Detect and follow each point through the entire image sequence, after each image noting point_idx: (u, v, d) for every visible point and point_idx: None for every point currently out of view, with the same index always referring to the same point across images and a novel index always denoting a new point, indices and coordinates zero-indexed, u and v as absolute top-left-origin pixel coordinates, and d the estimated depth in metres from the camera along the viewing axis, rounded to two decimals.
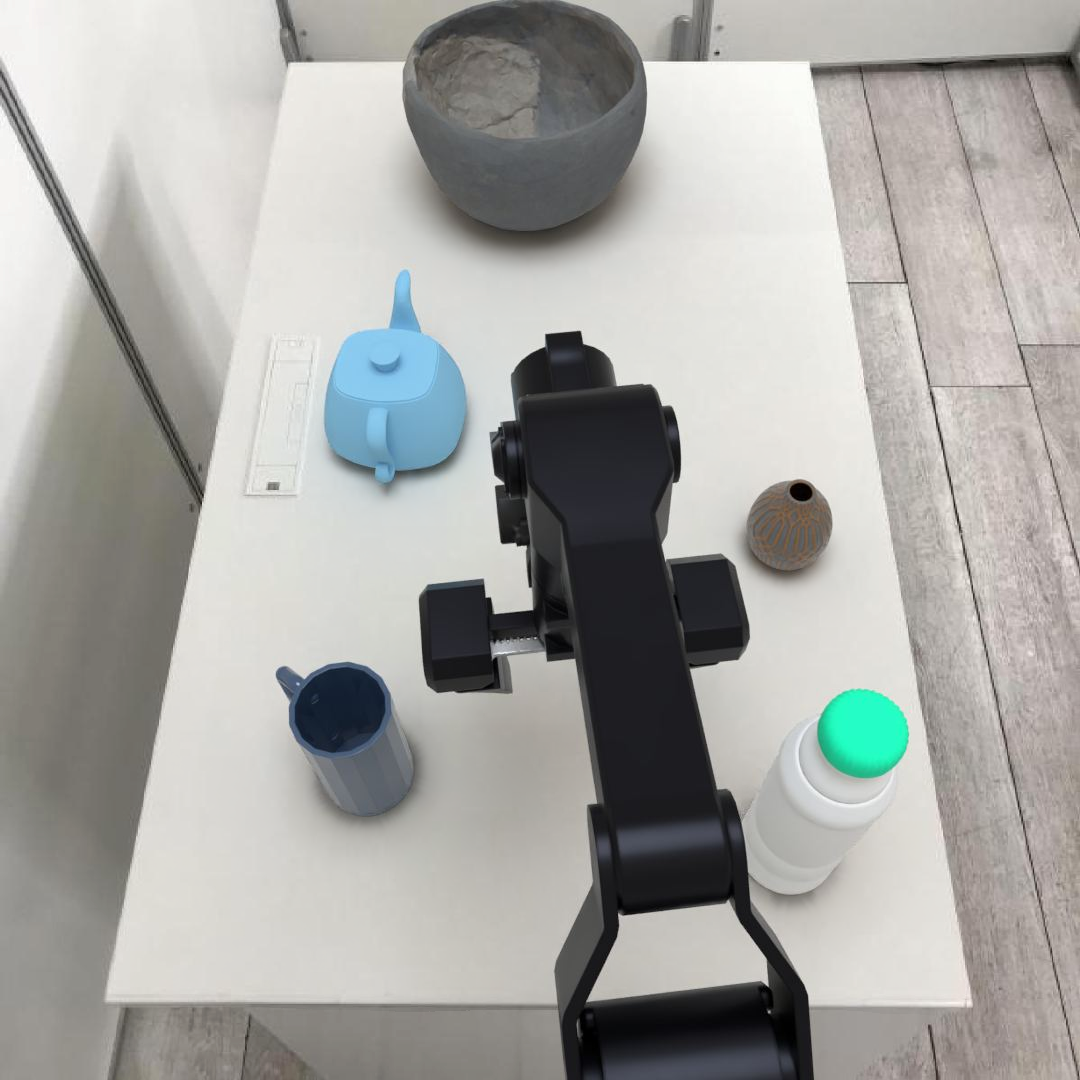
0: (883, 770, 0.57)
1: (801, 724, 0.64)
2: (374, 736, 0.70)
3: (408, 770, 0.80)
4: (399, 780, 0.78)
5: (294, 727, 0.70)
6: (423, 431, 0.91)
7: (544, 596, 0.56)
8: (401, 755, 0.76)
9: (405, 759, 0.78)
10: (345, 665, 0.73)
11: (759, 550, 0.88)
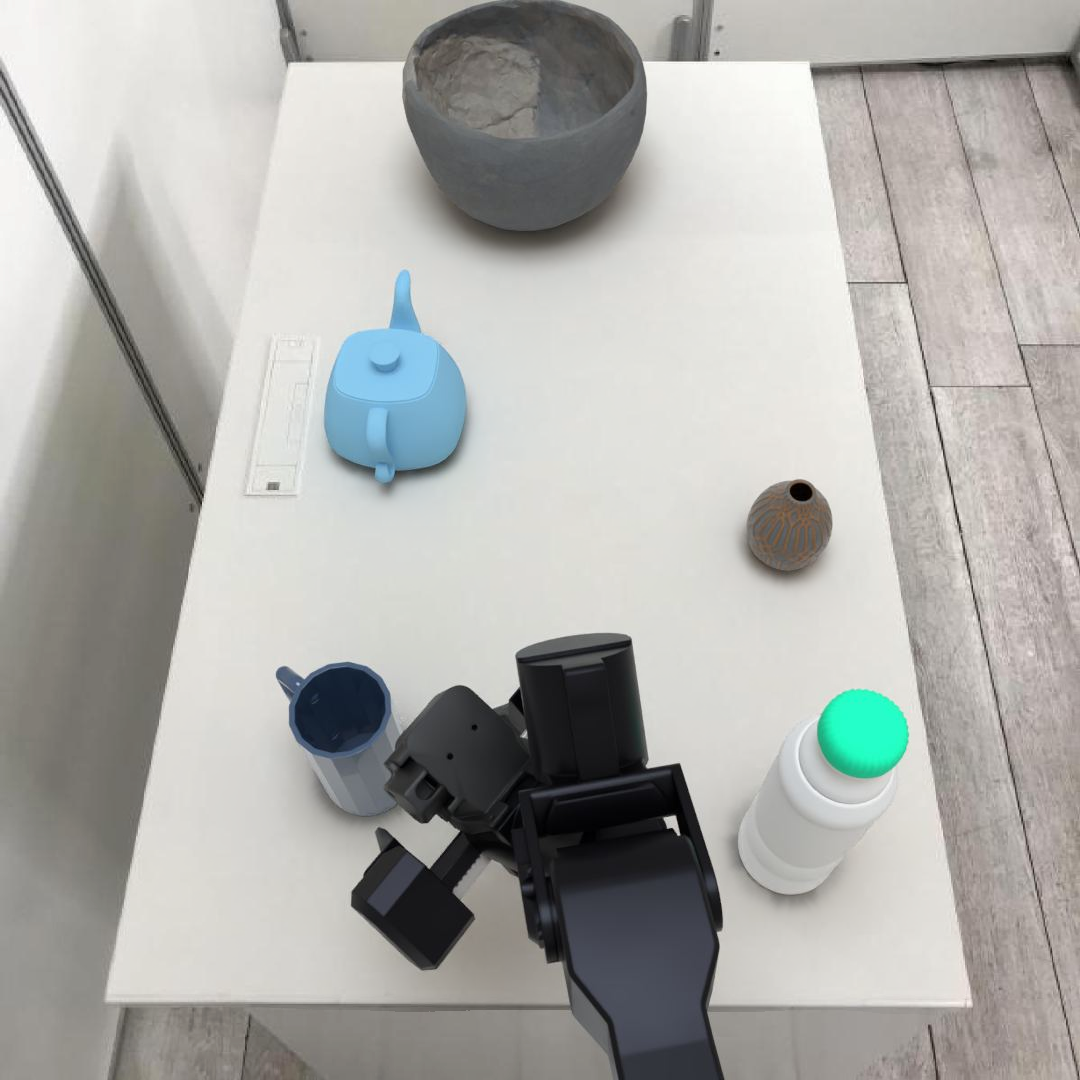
0: (883, 770, 0.57)
1: (801, 724, 0.64)
2: (374, 736, 0.70)
3: None
4: None
5: (294, 727, 0.70)
6: (423, 431, 0.91)
7: None
8: None
9: None
10: (345, 665, 0.73)
11: (759, 550, 0.88)
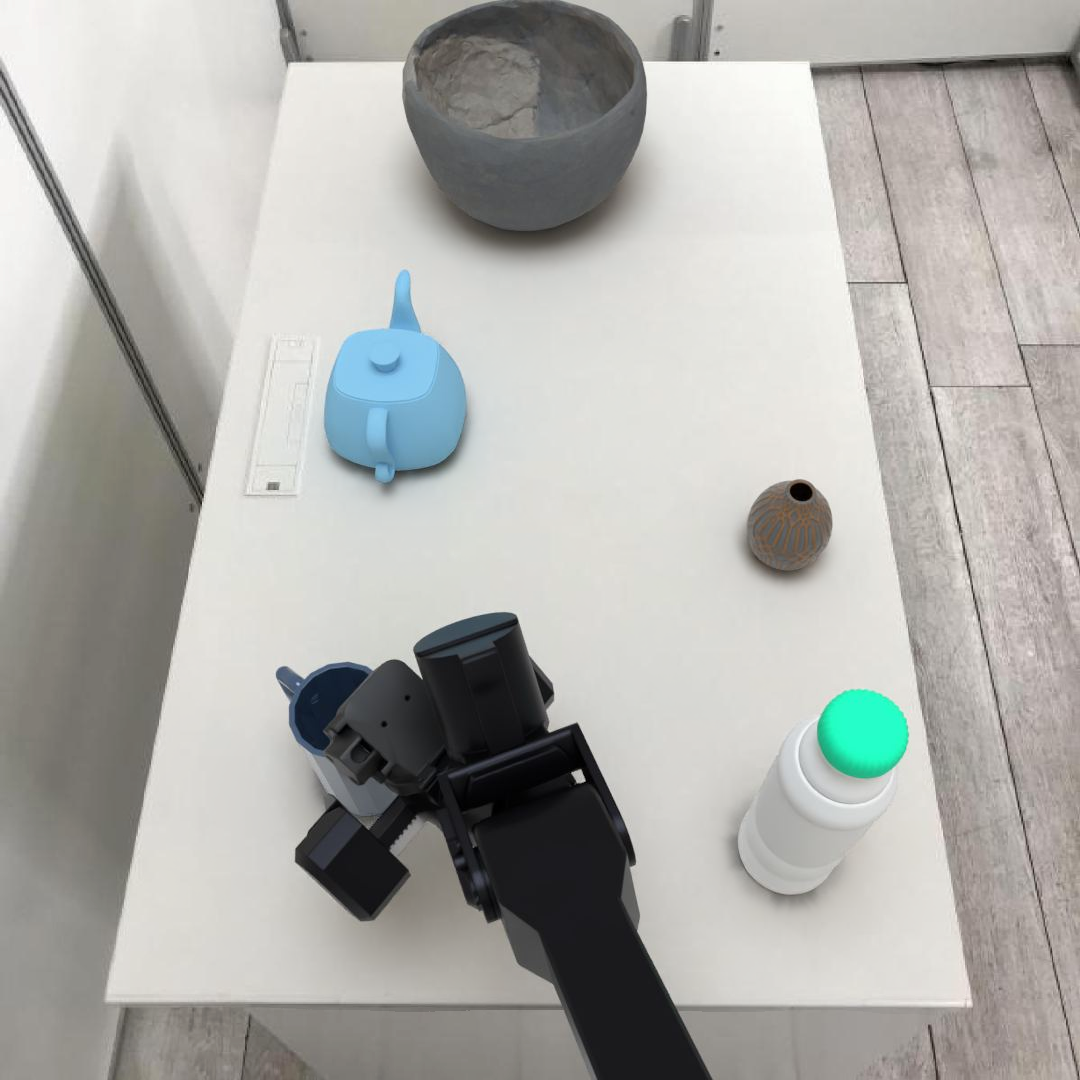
0: (883, 770, 0.57)
1: (801, 724, 0.64)
2: None
3: None
4: None
5: (294, 727, 0.70)
6: (423, 431, 0.91)
7: None
8: None
9: None
10: (345, 665, 0.73)
11: (759, 550, 0.88)
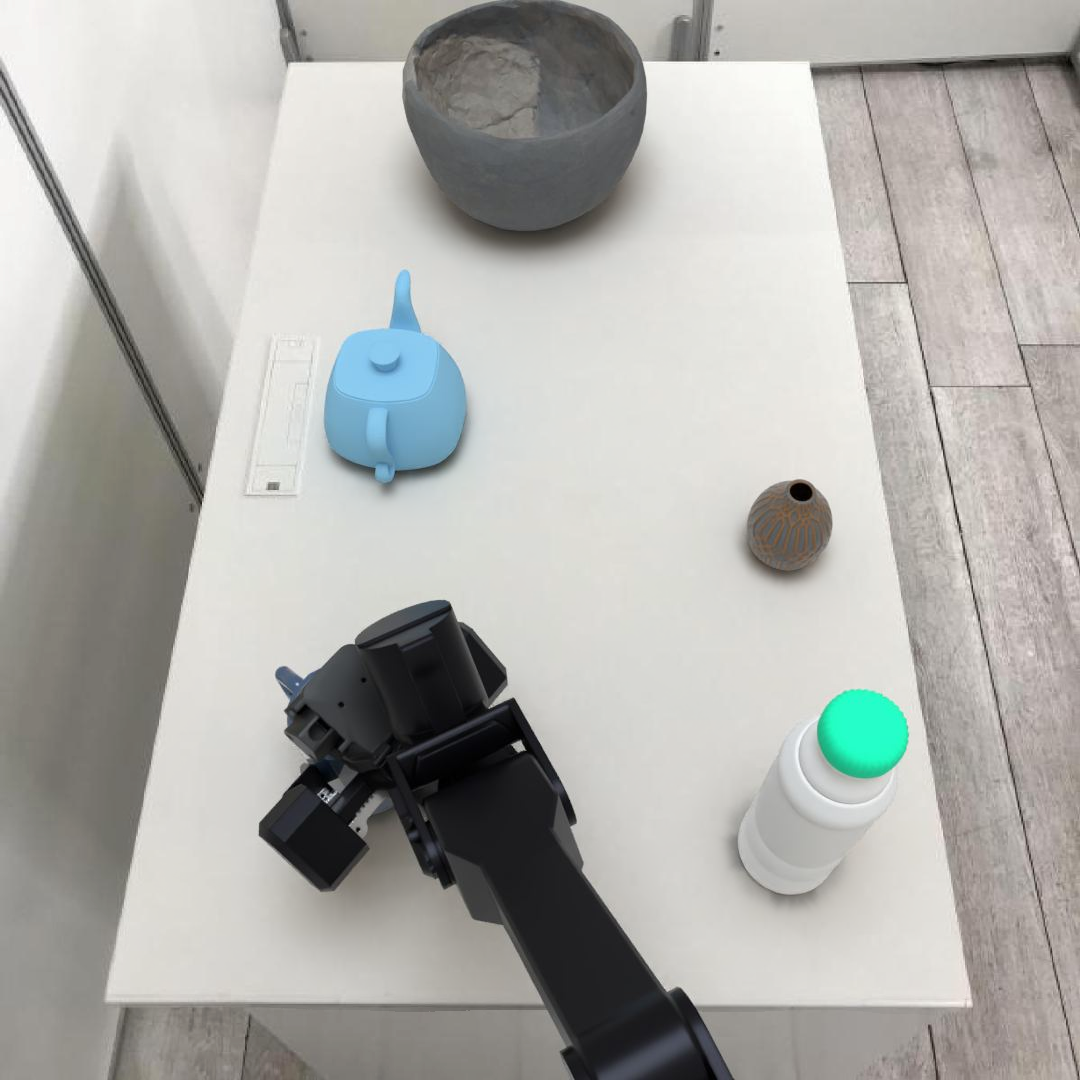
0: (883, 770, 0.57)
1: (801, 724, 0.64)
2: None
3: None
4: None
5: None
6: (423, 431, 0.91)
7: None
8: None
9: None
10: None
11: (759, 550, 0.88)
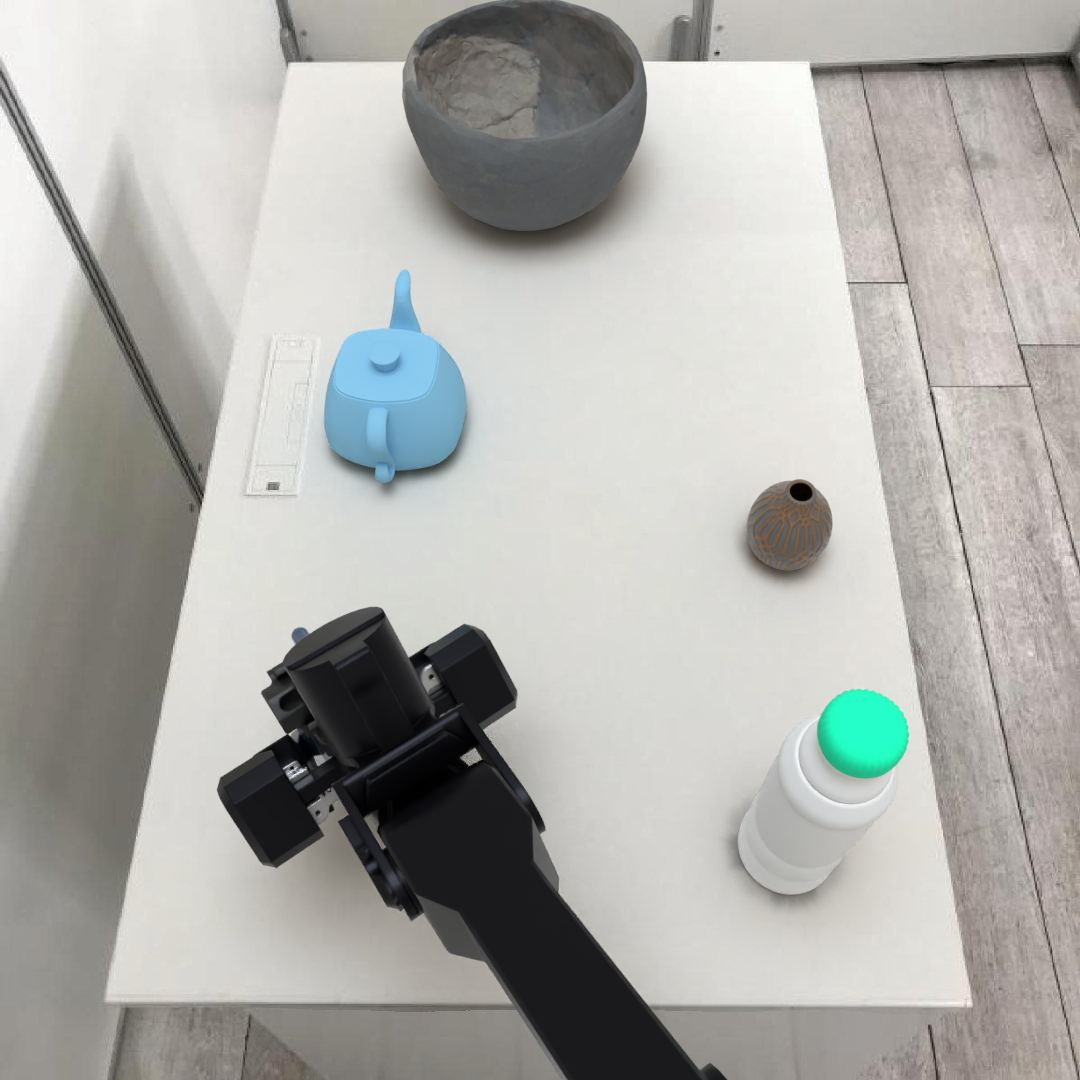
0: (883, 770, 0.57)
1: (801, 724, 0.64)
2: None
3: None
4: None
5: None
6: (423, 431, 0.91)
7: None
8: None
9: None
10: None
11: (759, 550, 0.88)
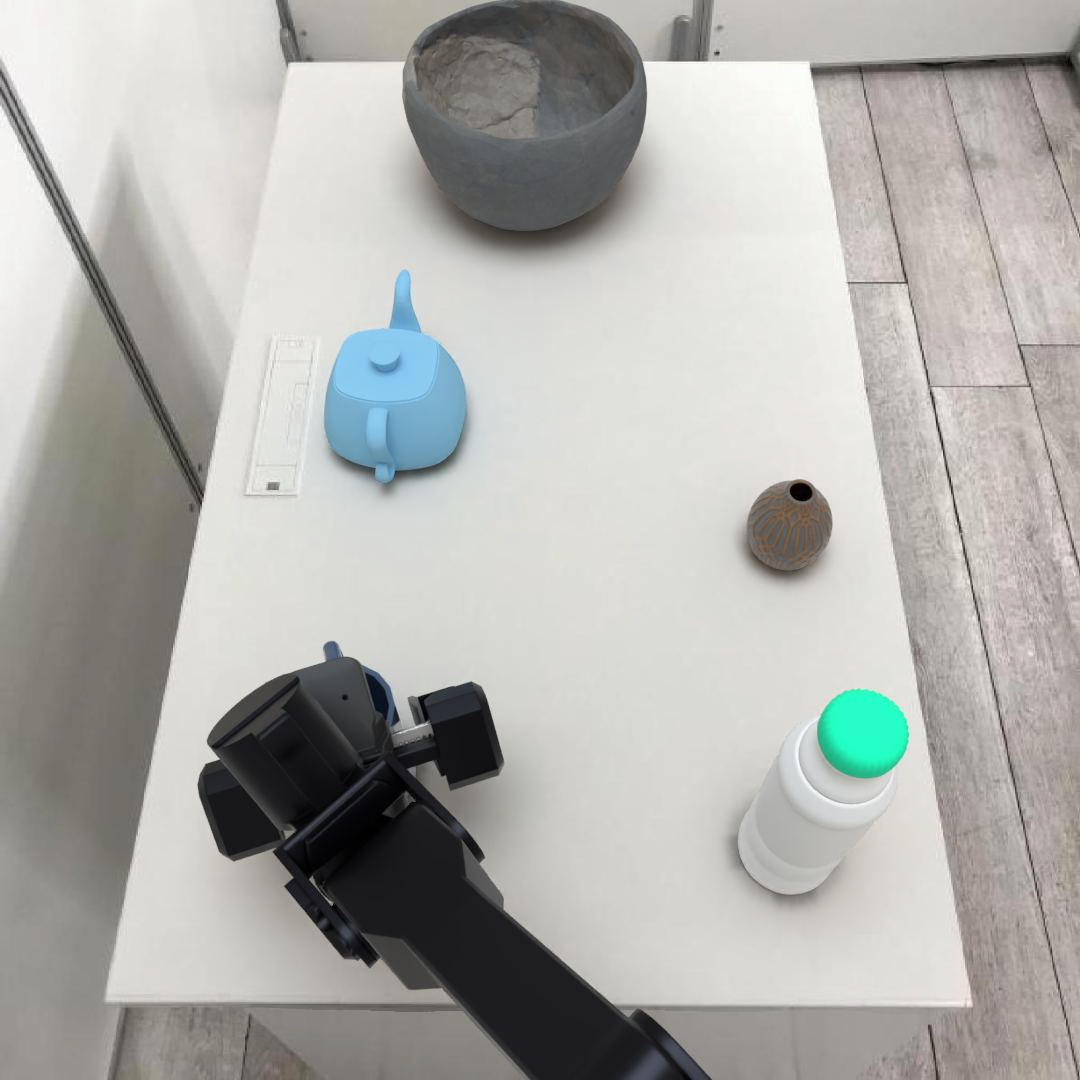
0: (883, 770, 0.57)
1: (801, 724, 0.64)
2: None
3: None
4: None
5: None
6: (423, 431, 0.91)
7: None
8: None
9: None
10: (373, 675, 0.72)
11: (759, 550, 0.88)
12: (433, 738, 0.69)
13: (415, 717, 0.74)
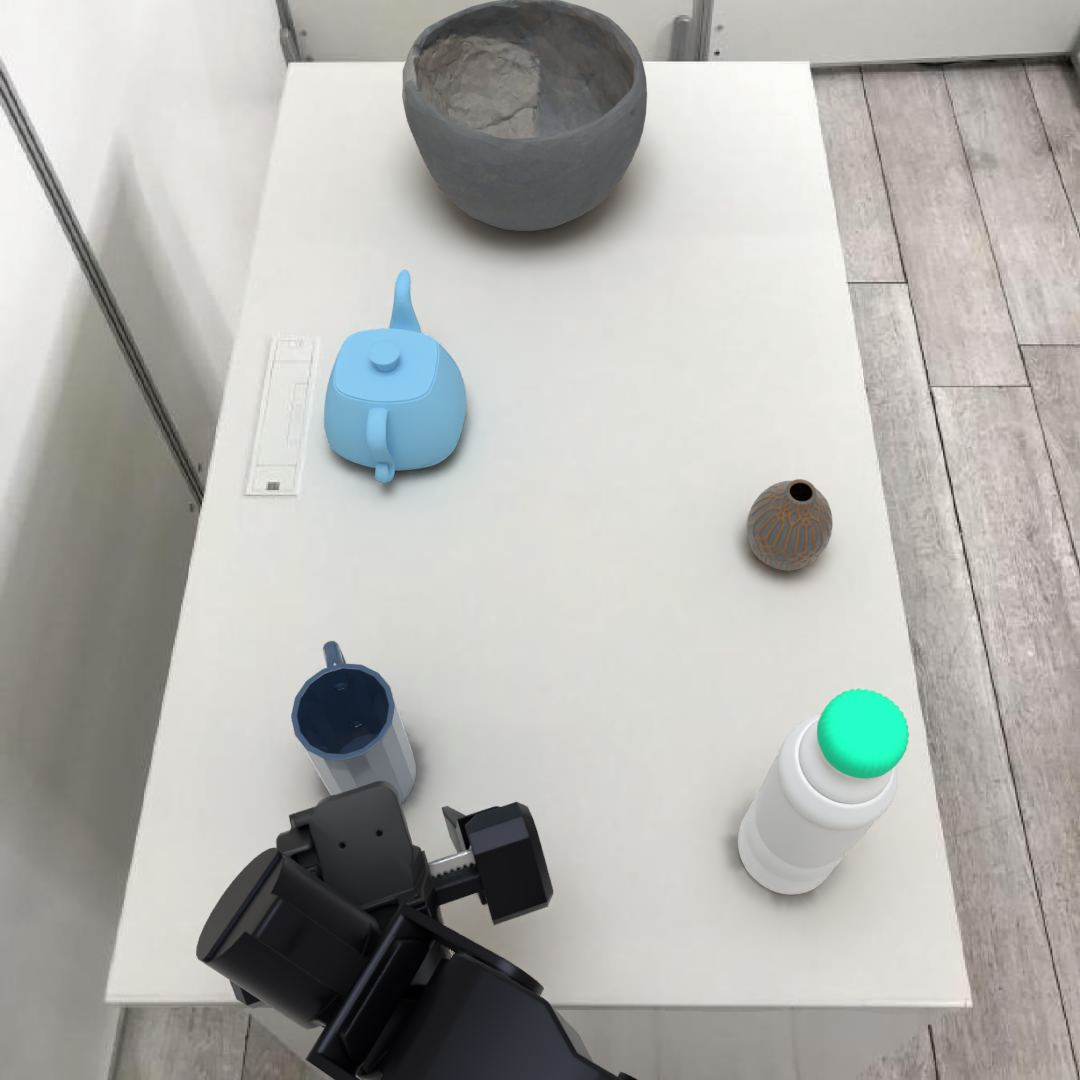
0: (883, 770, 0.57)
1: (801, 724, 0.64)
2: (352, 753, 0.69)
3: None
4: None
5: (297, 702, 0.71)
6: (423, 431, 0.91)
7: None
8: (387, 780, 0.75)
9: (394, 785, 0.77)
10: (373, 675, 0.72)
11: (759, 550, 0.88)
12: (475, 867, 0.62)
13: (452, 833, 0.67)
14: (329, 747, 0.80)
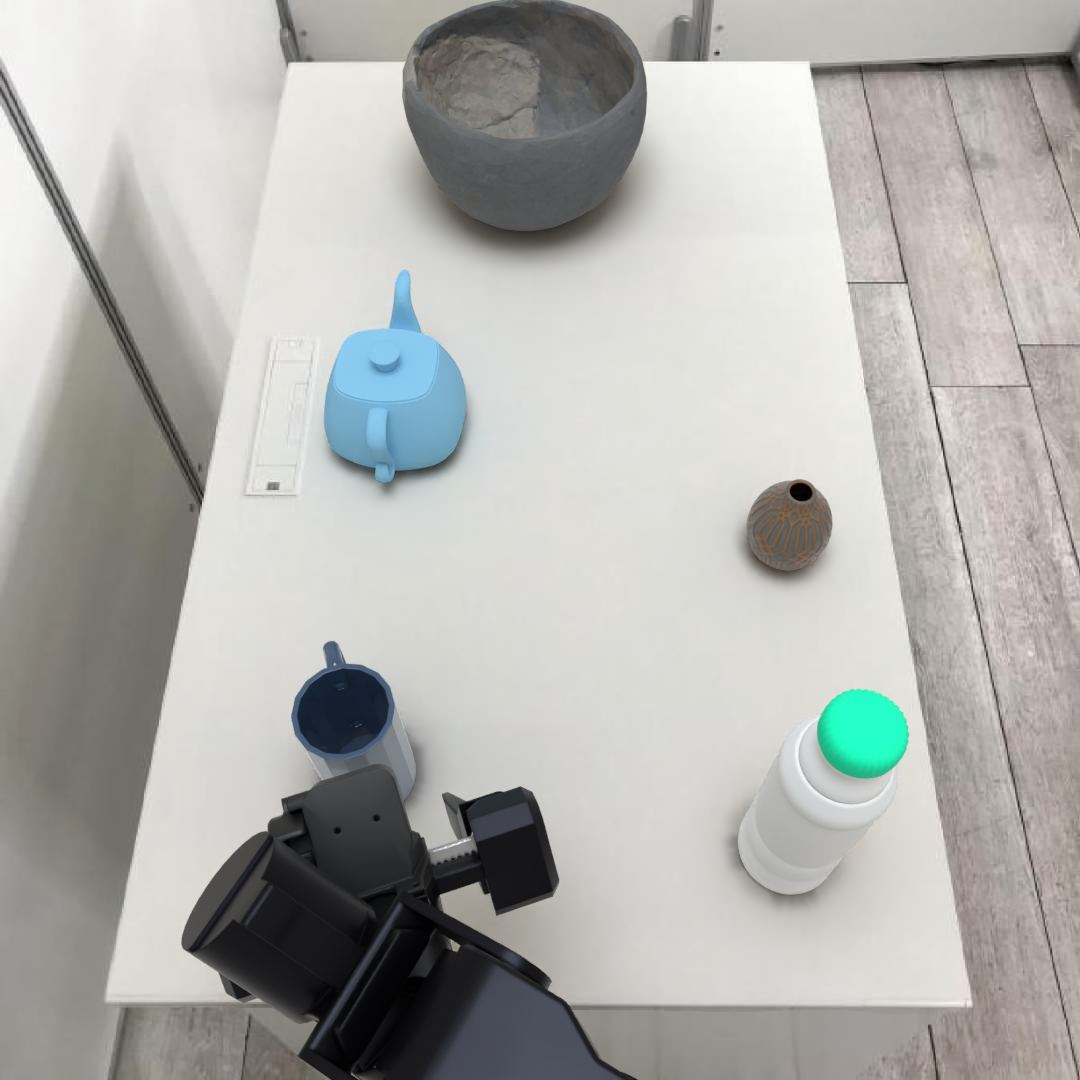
0: (883, 770, 0.57)
1: (801, 724, 0.64)
2: (352, 753, 0.69)
3: None
4: None
5: (297, 702, 0.71)
6: (423, 431, 0.91)
7: None
8: None
9: None
10: (373, 675, 0.72)
11: (759, 550, 0.88)
12: (477, 854, 0.59)
13: (452, 820, 0.64)
14: (329, 747, 0.80)
